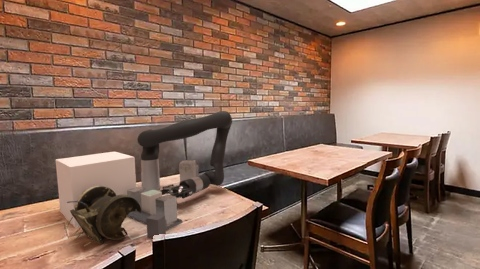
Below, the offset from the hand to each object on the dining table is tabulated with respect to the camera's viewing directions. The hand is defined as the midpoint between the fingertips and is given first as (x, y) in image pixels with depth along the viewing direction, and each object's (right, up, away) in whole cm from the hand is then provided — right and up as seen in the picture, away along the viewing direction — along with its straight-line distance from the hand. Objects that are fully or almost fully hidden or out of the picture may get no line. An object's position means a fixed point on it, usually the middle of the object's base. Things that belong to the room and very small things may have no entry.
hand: (164, 195), depth 114 cm
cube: (-30, -8, +5) cm, 32 cm away
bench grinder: (-17, -11, -19) cm, 27 cm away
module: (-3, -7, -4) cm, 9 cm away
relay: (+3, -10, -18) cm, 21 cm away
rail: (-3, -9, -4) cm, 10 cm away
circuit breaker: (+4, -4, +39) cm, 39 cm away
